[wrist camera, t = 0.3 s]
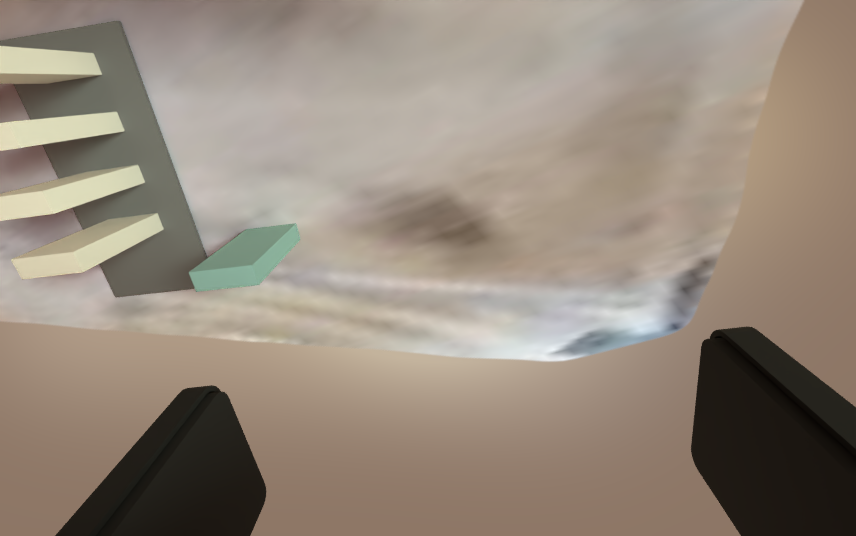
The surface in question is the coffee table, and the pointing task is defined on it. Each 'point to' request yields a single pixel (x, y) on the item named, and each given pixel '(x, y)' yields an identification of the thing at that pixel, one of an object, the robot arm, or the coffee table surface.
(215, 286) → the teal domino
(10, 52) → the domino
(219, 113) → the coffee table surface
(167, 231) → the domino mat
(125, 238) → the domino
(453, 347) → the coffee table surface
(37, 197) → the domino
